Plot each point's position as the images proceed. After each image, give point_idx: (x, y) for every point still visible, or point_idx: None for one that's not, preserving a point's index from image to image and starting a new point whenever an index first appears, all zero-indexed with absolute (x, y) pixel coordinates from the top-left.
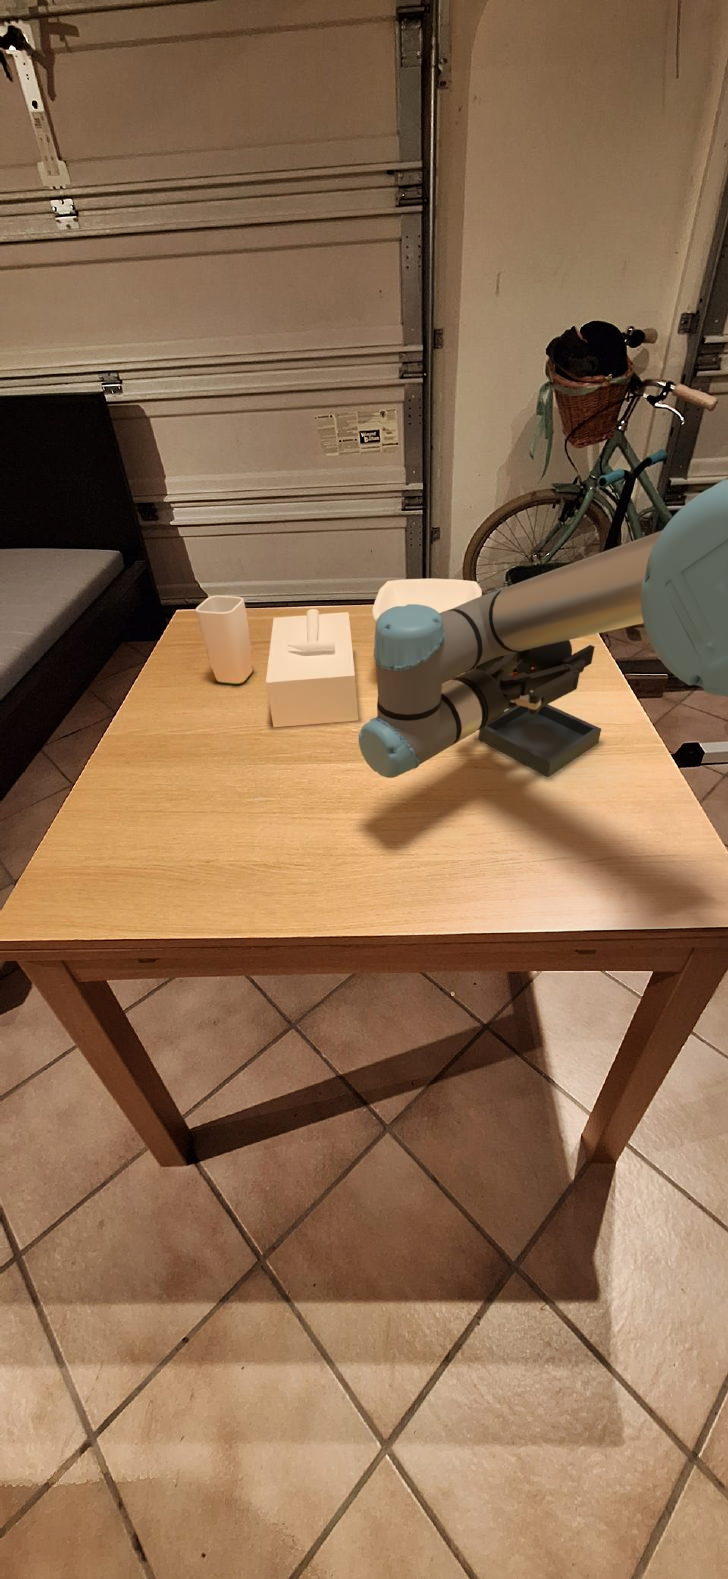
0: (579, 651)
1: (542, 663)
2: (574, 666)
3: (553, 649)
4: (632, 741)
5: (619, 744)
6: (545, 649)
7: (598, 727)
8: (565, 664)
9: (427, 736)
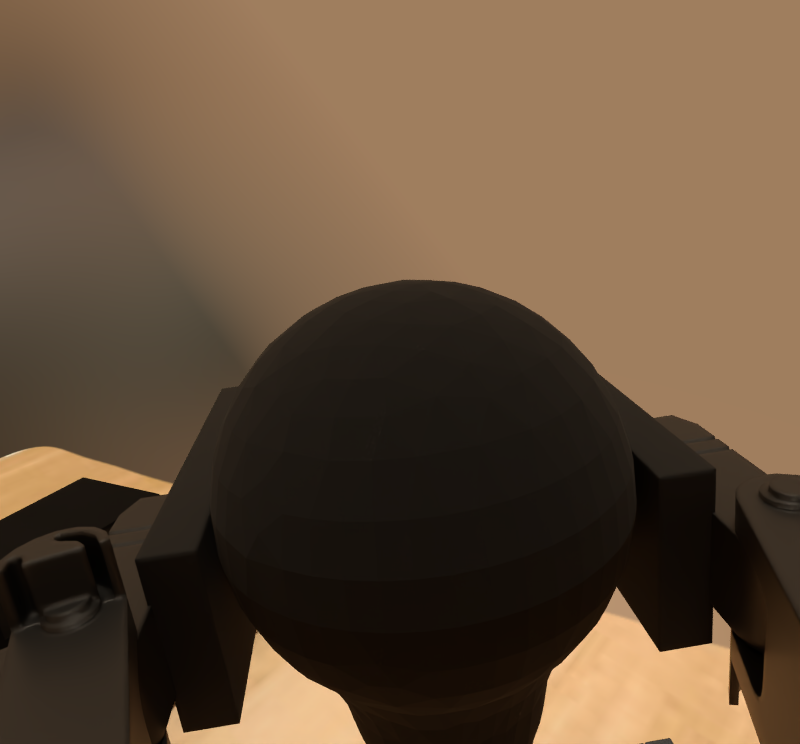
0: None
1: (532, 628)
2: (746, 476)
3: (562, 406)
4: (709, 689)
5: (716, 740)
6: (499, 446)
7: (656, 742)
8: (745, 492)
9: None
